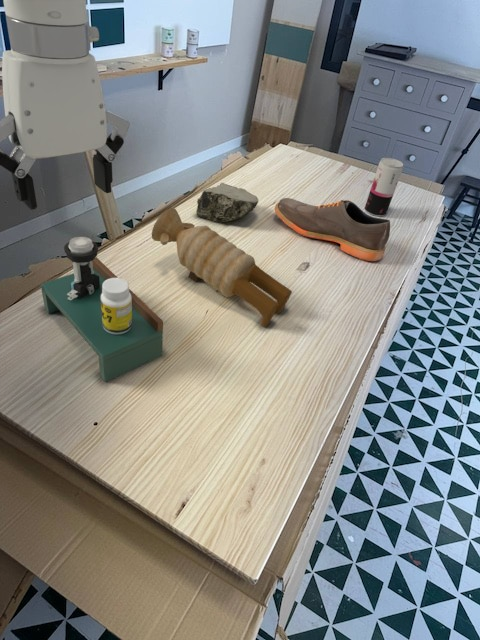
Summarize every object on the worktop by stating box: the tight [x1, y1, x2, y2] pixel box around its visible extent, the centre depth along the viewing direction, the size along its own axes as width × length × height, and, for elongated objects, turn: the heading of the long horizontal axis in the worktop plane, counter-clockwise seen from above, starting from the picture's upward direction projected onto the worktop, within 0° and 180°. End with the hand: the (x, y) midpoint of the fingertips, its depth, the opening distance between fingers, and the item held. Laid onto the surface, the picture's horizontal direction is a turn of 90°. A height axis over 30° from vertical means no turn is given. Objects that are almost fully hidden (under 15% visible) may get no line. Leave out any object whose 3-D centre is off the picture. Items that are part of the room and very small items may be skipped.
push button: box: [63, 236, 100, 300], centre depth 79 cm, size 7×5×10 cm
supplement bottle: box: [101, 277, 132, 334], centre depth 74 cm, size 5×5×8 cm
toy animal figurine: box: [151, 207, 293, 328], centre depth 95 cm, size 10×12×30 cm
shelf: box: [40, 256, 164, 383], centre depth 81 cm, size 11×22×8 cm, turn 42°
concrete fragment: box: [195, 182, 259, 223], centre depth 121 cm, size 15×10×15 cm
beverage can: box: [364, 157, 404, 217], centre depth 133 cm, size 6×7×15 cm
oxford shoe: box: [274, 197, 391, 262], centre depth 119 cm, size 11×31×11 cm, turn 59°
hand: (67, 196), depth 58 cm, fingers open, 9 cm apart
